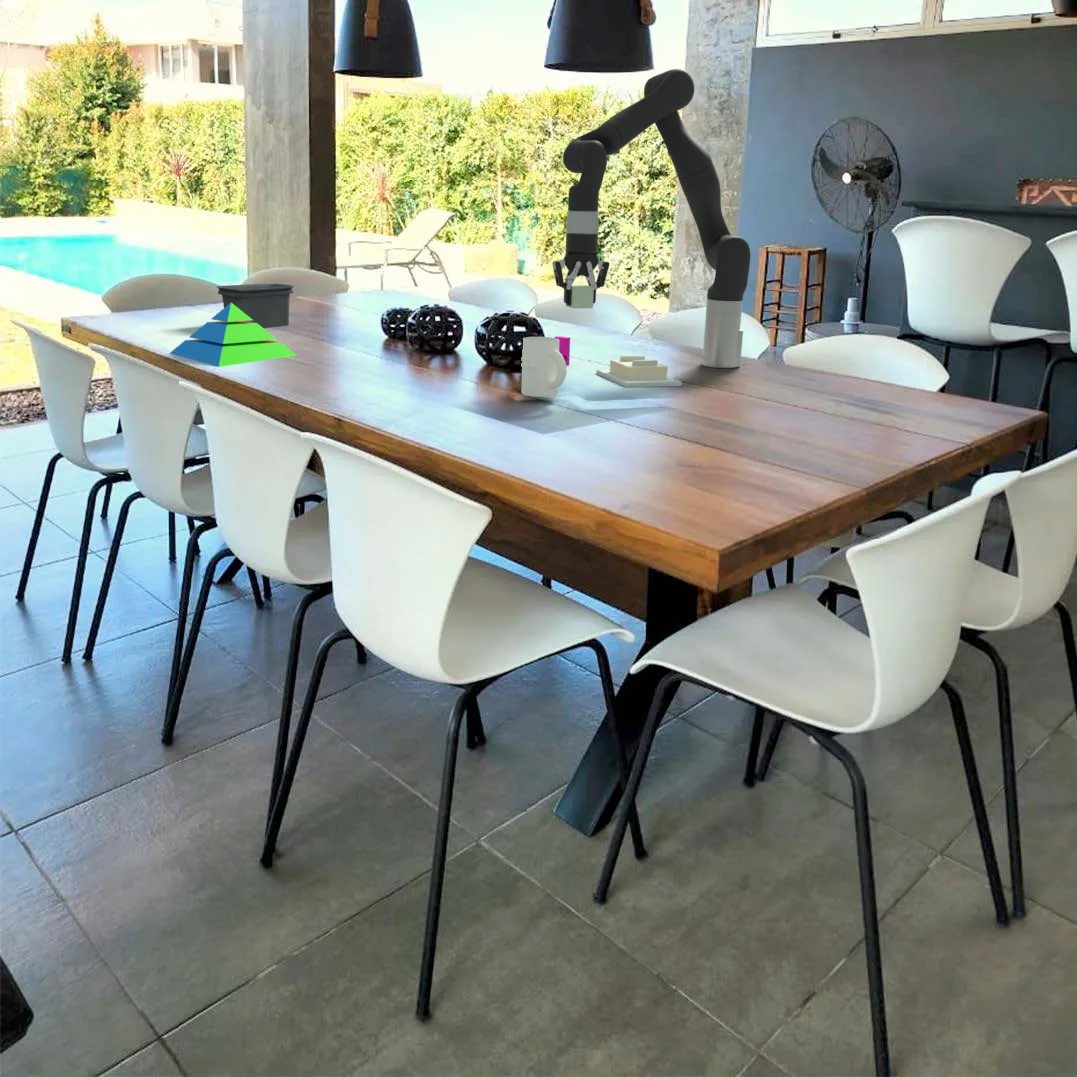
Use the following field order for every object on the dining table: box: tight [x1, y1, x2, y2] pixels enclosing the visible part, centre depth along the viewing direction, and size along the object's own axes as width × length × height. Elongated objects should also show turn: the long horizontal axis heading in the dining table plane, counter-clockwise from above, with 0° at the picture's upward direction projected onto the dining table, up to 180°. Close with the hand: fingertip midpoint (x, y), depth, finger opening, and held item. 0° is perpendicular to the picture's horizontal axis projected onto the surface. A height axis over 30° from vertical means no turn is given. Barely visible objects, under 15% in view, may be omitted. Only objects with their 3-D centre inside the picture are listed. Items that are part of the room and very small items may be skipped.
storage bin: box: [216, 283, 294, 329], centre depth 314 cm, size 21×16×14 cm
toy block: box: [554, 335, 571, 366], centre depth 265 cm, size 15×6×8 cm, turn 132°
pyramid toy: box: [169, 303, 298, 368], centre depth 268 cm, size 25×25×14 cm
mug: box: [521, 336, 567, 398], centre depth 225 cm, size 8×12×12 cm
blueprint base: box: [595, 354, 682, 388], centre depth 251 cm, size 14×20×5 cm
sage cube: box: [565, 284, 594, 309], centre depth 247 cm, size 5×5×5 cm
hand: (579, 305), depth 248 cm, fingers closed on sage cube, 5 cm apart
